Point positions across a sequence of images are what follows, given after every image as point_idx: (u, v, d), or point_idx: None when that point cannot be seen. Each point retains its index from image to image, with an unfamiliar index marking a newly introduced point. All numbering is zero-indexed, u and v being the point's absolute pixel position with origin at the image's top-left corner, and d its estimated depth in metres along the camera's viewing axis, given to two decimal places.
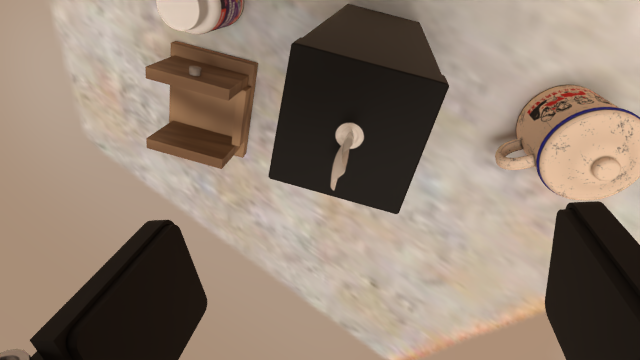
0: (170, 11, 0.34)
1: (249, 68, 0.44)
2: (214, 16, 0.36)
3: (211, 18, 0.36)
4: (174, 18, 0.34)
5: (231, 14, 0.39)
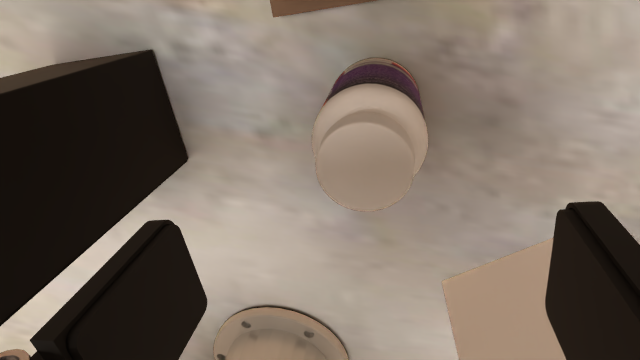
0: (378, 157, 0.15)
1: (281, 5, 0.21)
2: (314, 142, 0.18)
3: (318, 138, 0.18)
4: (368, 145, 0.15)
5: None
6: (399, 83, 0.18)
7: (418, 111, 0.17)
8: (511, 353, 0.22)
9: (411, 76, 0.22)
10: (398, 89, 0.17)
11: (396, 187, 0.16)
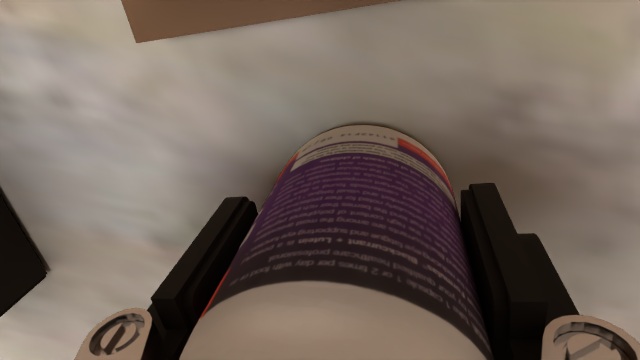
0: None
1: (148, 18, 0.09)
2: None
3: None
4: None
5: None
6: (420, 245, 0.06)
7: None
8: None
9: (439, 167, 0.10)
10: (420, 296, 0.05)
11: None
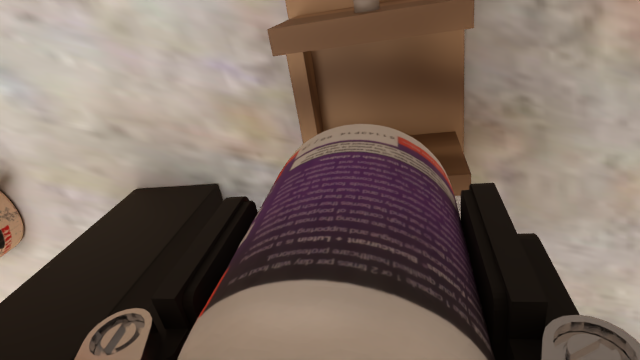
0: None
1: None
2: None
3: None
4: None
5: None
6: (420, 244, 0.06)
7: None
8: None
9: (439, 166, 0.10)
10: (419, 295, 0.05)
11: None
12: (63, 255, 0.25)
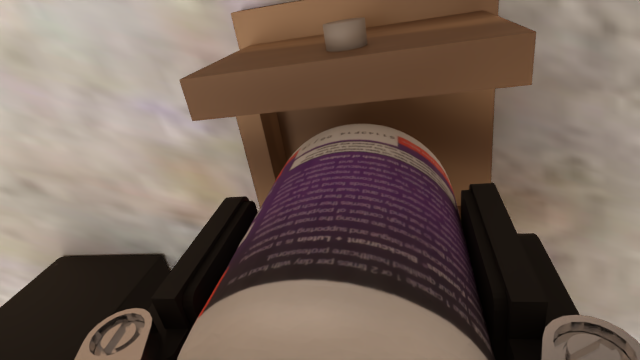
0: None
1: None
2: None
3: None
4: None
5: None
6: (420, 244, 0.06)
7: None
8: None
9: (439, 166, 0.10)
10: (420, 295, 0.05)
11: None
12: None
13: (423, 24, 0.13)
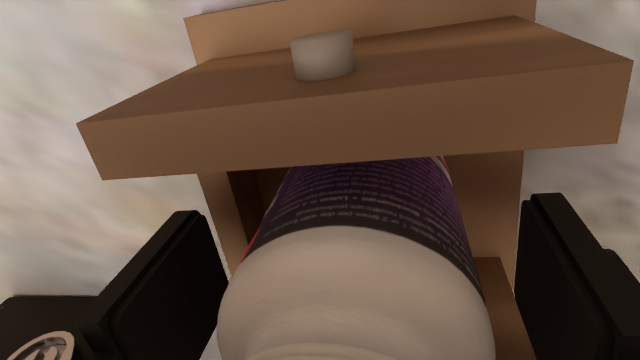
0: None
1: None
2: (220, 350, 0.07)
3: (225, 348, 0.07)
4: None
5: None
6: (421, 204, 0.08)
7: (475, 301, 0.06)
8: None
9: None
10: (421, 238, 0.07)
11: None
12: None
13: (435, 35, 0.09)
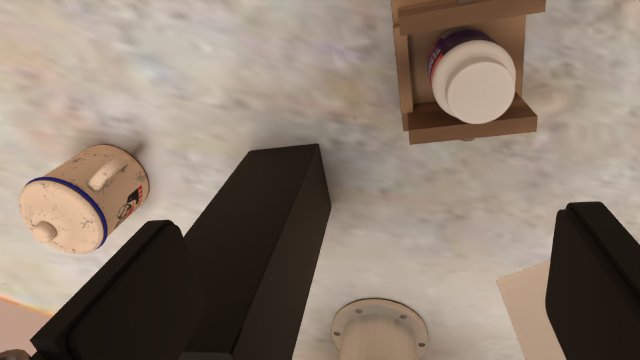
0: (491, 85, 0.24)
1: None
2: (437, 82, 0.26)
3: (440, 79, 0.26)
4: (485, 77, 0.23)
5: (429, 68, 0.30)
6: (492, 40, 0.27)
7: (510, 57, 0.25)
8: (547, 324, 0.37)
9: None
10: (495, 43, 0.26)
11: (501, 105, 0.24)
12: (220, 193, 0.34)
13: None
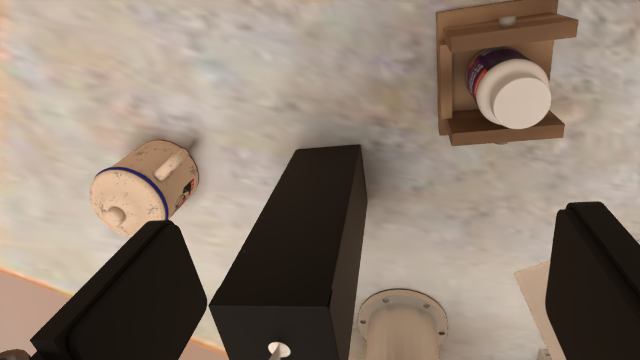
0: (531, 97, 0.28)
1: (445, 130, 0.41)
2: (482, 93, 0.31)
3: (485, 90, 0.31)
4: (527, 90, 0.28)
5: (471, 81, 0.34)
6: (529, 59, 0.31)
7: (545, 73, 0.30)
8: None
9: None
10: None
11: (539, 113, 0.29)
12: (280, 185, 0.38)
13: (528, 18, 0.33)
